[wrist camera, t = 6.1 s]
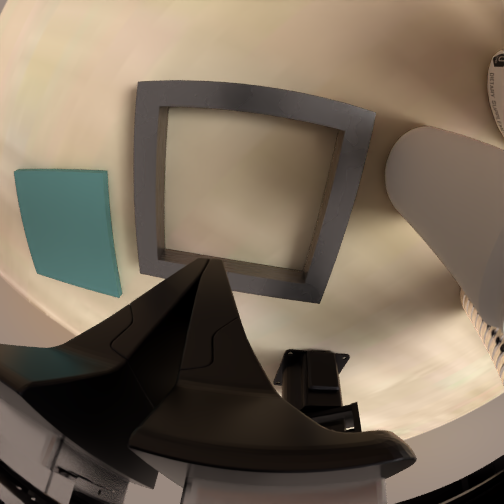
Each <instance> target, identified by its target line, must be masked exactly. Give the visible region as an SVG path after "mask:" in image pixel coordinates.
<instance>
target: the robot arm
mask: <svg viewBox="0 0 504 504" xmlns="http://www.w3.org/2000/svg"><path fill="white" fill-rule="evenodd" d="M289 352H292V353H293V354H288V353H289ZM343 357H347V358H345V359H343ZM349 358H350V356H349V355H348V354H339V353H332V352H320V351H303V350H293V349H289V350H287V351H286V352H285V354H284V356H283V359H282V362H281V364H280V367H279V369H278V372H277V374H276V377H275V379H274V384H275V385H280V386H282V397H281V396H280V395H279V394H278V393H277V391H276V390H275V389H274V387H273V386H272V384H271V382H270V381H269V379H268V377H267V375H266V373H265V372H264V370H263V368H262V366H261V364H260V363H259V361H258V359H257V357H256V355H255V354H254V352H253V350H252V348H251V346H250V343H249V341H248V339H247V337H246V334H245V331H244V329H243V326H242V323H241V319H240V316H239V313H238V310H237V307H236V303H235V300H234V297H233V293H232V290H231V286H230V283H229V280H228V276H227V273H226V269H225V266H224V262H223V260H222V259H213V258H212V259H209V258H197V259H195V260H194V261H192V262H191V263H189V264H188V265H186V266H185V267H183V268H182V269H180V270H179V271H177V272H176V273H174V274H173V275H171V276H170V277H168V278H167V279H165V280H164V281H162V282H161V283H159V284H158V285H156V286H155V287H153V288H152V289H150V290H149V291H147V292H146V293H144V294H143V295H142V296H140V297H139V298H137V299H136V300H134V301H133V302H131V303H130V305H129V304H128V305H127V306H125V307H124V308H122V309H121V310H120V311H118V312H116V313H115V314H113V315H112V316H110V317H109V318H107V319H106V320H104V321H102V322H101V323H99V324H97V325H96V326H94V327H92V328H90V329H89V330H87V331H85V332H83V333H82V334H80V335H78V336H76V337H75V338H73V339H71V340H69V341H68V342H66V343H64V344H62V345H59V346H56V347H51V348H38V347H26V346H16V345H6V344H0V504H124V500H125V497H126V493H127V489H128V485H129V482H132V483H134V484H138V485H140V486H143V487H147V488H150V489H154V486H155V482H156V479H157V475H158V472H160V473H161V474H163V475H164V476H166V477H167V478H168V479H170V480H171V481H173V482H174V483H176V484H177V485H179V486H181V487H182V488H183V493H182V498H181V503H180V504H387V495H386V483H385V479H386V478H389V477H391V476H393V475H395V474H396V473H399V472H400V471H402V470H404V469H406V468H408V467H410V466H411V465H413V464H414V463H415V462H416V459H417V458H416V456H415V454H414V452H413V450H412V449H411V448H410V447H409V445H408V444H406V443H405V442H404V441H403V440H402V439H401V438H399V437H398V436H397V435H395V434H394V433H393V432H390V431H385V430H376V431H366V432H362V431H361V424H360V417H359V411H358V405H357V402H355V403H351V404H350V405H346V406H343V403H342V395H341V388H340V380H339V373H340V372H341V370H342V369H343V367H344V366H345V364H346V363H347V361H348V360H349ZM276 382H280V383H276ZM350 427H354V429H349V430H346V428H350ZM396 504H504V455H503V456H501V457H499V458H498V459H496V460H495V461H493V462H491V463H490V464H488V465H486V466H485V467H483V468H481V469H480V470H478V471H476V472H474V473H472V474H470V475H468V476H466V477H464V478H462V479H460V480H458V481H456V482H453V483H451V484H449V485H447V486H445V487H442V488H440V489H437V490H434V491H432V492H429V493H427V494H424V495H421V496H418V497H415V498H412V499H409V500H406V501H402V502H399V503H396Z"/></svg>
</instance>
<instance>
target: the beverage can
mask: <svg viewBox="0 0 504 504" xmlns="http://www.w3.org/2000/svg"><path fill="white" fill-rule="evenodd" d="M385 185H386V190H387V194H388V196H389V199H390V201H391V203H392V204H393V206H394V207H395V209H396V210H397V211H398V212H399V213H400V214H401V215H402V216H403V217H404V219H405V220H406V221H407V222H408V223H409V224H410V225H411V226H412V227H413V228H414V230H415V231H416V232H417V233H418V234H419V235H420V236H421V237H422V239H423V240H424V241H425V242H426V243H427V244H428V246H429V247H430V248H431V249H432V250H433V252H434V253H435V254H436V255H437V257H438V258H439V259H440V260H441V262H442V263H443V264H444V265H445V267H446V268H447V269H448V271H449V272H450V273H451V275H452V276H453V277H454V279H455V280H456V281H457V283H458V284H459V285H460V287H461V288H462V290H463V291H464V292H465V294H466V295H467V297H468V298H469V300H470V301H471V303H472V304H473V306H474V307H475V309H476V310H477V312H478V313H479V315H480V316H481V318H482V319H483V321H484V322H485V323H486V324H488V325H490V326H493V327H496V328H500V329H501V332H502V333H503V335H504V150H503V149H500V148H498V147H495V146H492V145H490V144H487V143H484V142H481V141H479V140H476V139H473V138H470V137H466V136H463V135H460V134H457V133H453V132H450V131H446V130H442V129H439V128H435V127H428V126H423V127H418V128H415V129H412V130H410V131H408V132H407V133H405V134H404V135H403V136H401V137H400V138H399V140H398V141H397V142H396V143H395V145H394V146H393V148H392V150H391V152H390V154H389V156H388V159H387V163H386V168H385Z"/></svg>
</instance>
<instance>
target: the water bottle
mask: <svg viewBox="0 0 504 504" xmlns="http://www.w3.org/2000/svg"><path fill="white" fill-rule="evenodd" d="M460 301H461V304H462V307H463V309H464V310H465V312H466V314H467V316H468V317H469V319H470V321H471V322H472V324H473V326H474V328H475V329H476V331H477V333H478V335H479V337H480V338H481V340H482V342H483V344H484V345H485V347H486V350H487V352H488V353H489V355H490V357H491V359H492V361H493V363H494V366H495V368H496V369H497V371H498V374H499V376H500V378H501V380H502V383H503V385H504V335H503V333H502V332H501V329H500V328H496V327H493V326H490V325H488V324H486V323H485V322H484V321H483V319H482V318H481V316H480V315H479V313H478V312H477V310H476V309H475V307H474V306H473V304H472V303H471V301H470V300H469V298H468V297H467V295H466V294H465V292H464V291H463V290H462V288H461V289H460Z"/></svg>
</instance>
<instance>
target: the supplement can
mask: <svg viewBox="0 0 504 504" xmlns="http://www.w3.org/2000/svg"><path fill="white" fill-rule="evenodd" d="M487 90H488V96H489V103H490V107H491V110H492V113H493V116H494V119H495V121H496V124H497V126H498V128H499V130H500V132H501V134H502V135H503V137H504V50H500V51H498V52H497V53H496V54H495V55H494V56H493V57H492V60H491V63H490V66H489V69H488V81H487Z"/></svg>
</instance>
